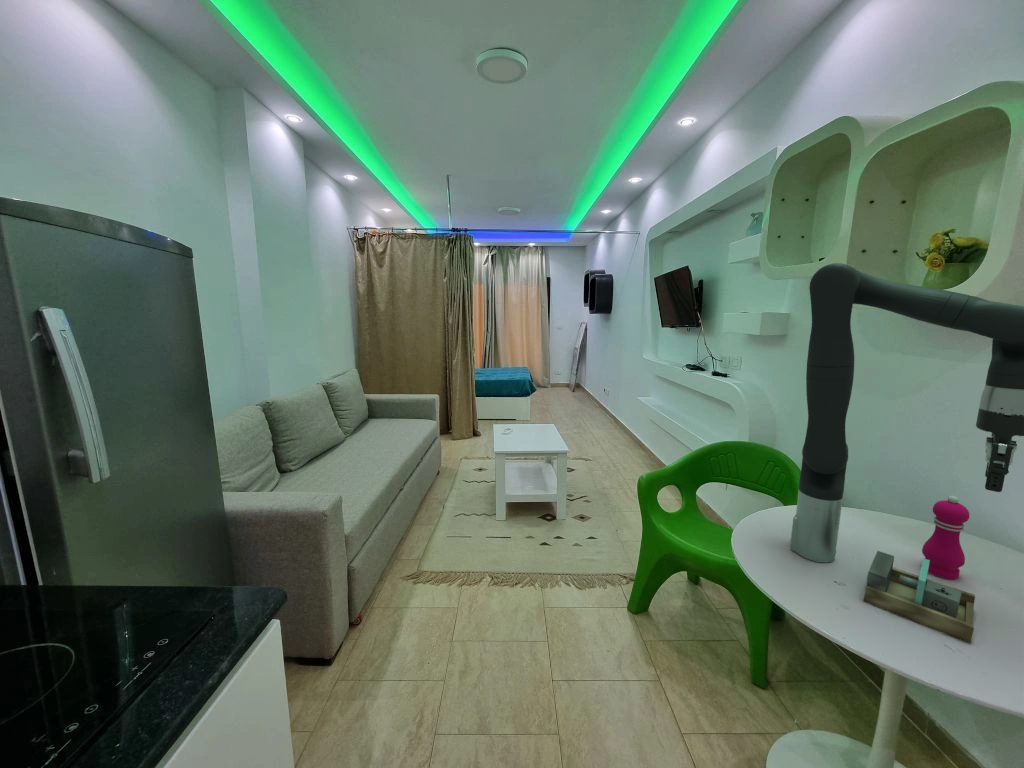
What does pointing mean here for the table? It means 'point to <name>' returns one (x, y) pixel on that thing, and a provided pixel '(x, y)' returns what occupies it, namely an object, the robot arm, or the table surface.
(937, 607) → the dice cube
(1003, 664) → the table surface
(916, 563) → the table surface
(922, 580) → the bar
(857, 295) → the robot arm
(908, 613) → the pusher lane
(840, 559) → the table surface
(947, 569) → the pepper mill
